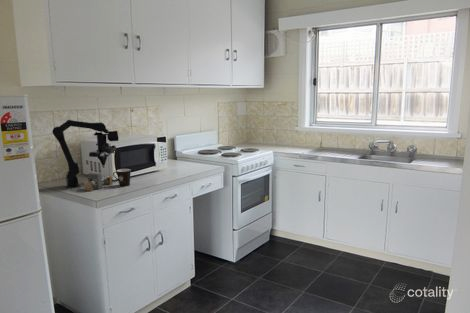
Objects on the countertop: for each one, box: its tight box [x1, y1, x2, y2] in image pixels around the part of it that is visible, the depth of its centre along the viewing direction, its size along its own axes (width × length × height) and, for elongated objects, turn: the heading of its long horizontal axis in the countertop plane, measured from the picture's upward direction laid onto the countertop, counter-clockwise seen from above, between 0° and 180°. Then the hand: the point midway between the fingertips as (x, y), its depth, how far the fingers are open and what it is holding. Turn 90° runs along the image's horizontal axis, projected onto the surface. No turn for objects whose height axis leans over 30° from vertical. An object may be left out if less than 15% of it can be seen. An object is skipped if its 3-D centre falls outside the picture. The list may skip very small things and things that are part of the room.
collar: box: [87, 172, 103, 190], centre depth 227 cm, size 3×8×9 cm, turn 68°
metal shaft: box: [83, 175, 113, 192], centre depth 230 cm, size 19×5×5 cm, turn 158°
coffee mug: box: [112, 168, 132, 188], centre depth 235 cm, size 12×9×10 cm
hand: (103, 165), depth 239 cm, fingers closed
